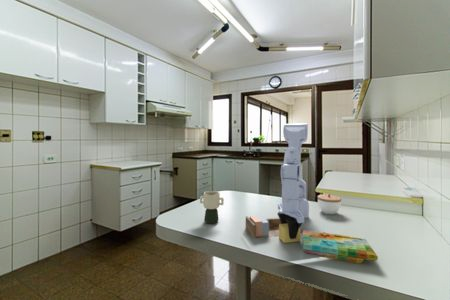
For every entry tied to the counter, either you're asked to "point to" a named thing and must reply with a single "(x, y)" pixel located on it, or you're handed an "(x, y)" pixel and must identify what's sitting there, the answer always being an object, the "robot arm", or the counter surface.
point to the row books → (261, 226)
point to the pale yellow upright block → (287, 234)
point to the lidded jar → (329, 203)
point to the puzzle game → (337, 246)
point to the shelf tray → (272, 227)
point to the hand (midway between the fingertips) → (289, 235)
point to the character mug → (211, 205)
